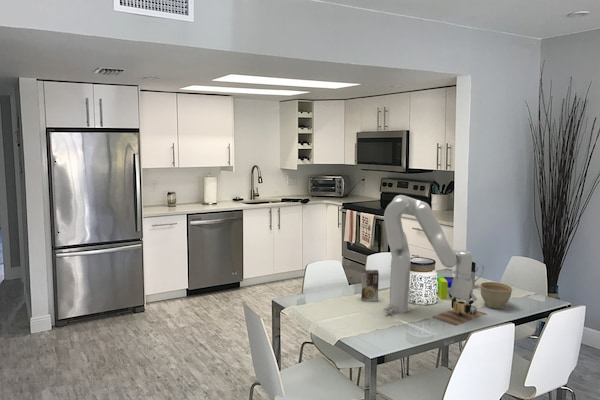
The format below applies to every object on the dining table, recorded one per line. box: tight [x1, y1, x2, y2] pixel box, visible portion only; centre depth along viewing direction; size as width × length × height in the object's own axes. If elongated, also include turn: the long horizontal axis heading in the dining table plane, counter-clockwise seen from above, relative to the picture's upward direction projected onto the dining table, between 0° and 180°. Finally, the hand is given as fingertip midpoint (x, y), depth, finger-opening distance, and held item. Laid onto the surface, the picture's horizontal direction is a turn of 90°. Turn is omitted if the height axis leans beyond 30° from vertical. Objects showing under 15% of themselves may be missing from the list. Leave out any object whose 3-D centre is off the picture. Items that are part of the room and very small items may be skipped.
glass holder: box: [471, 261, 485, 290], centre depth 307 cm, size 9×14×15 cm, turn 100°
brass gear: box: [452, 299, 467, 313], centre depth 255 cm, size 7×7×4 cm
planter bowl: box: [479, 281, 513, 309], centre depth 274 cm, size 16×16×11 cm
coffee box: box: [360, 269, 380, 302], centre depth 280 cm, size 9×6×16 cm
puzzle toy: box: [436, 276, 460, 300], centre depth 288 cm, size 10×10×10 cm
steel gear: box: [468, 304, 478, 314], centre depth 260 cm, size 7×7×3 cm
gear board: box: [431, 309, 487, 327], centre depth 255 cm, size 27×14×6 cm, turn 130°
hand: (460, 309), depth 255 cm, fingers closed on brass gear, 7 cm apart
